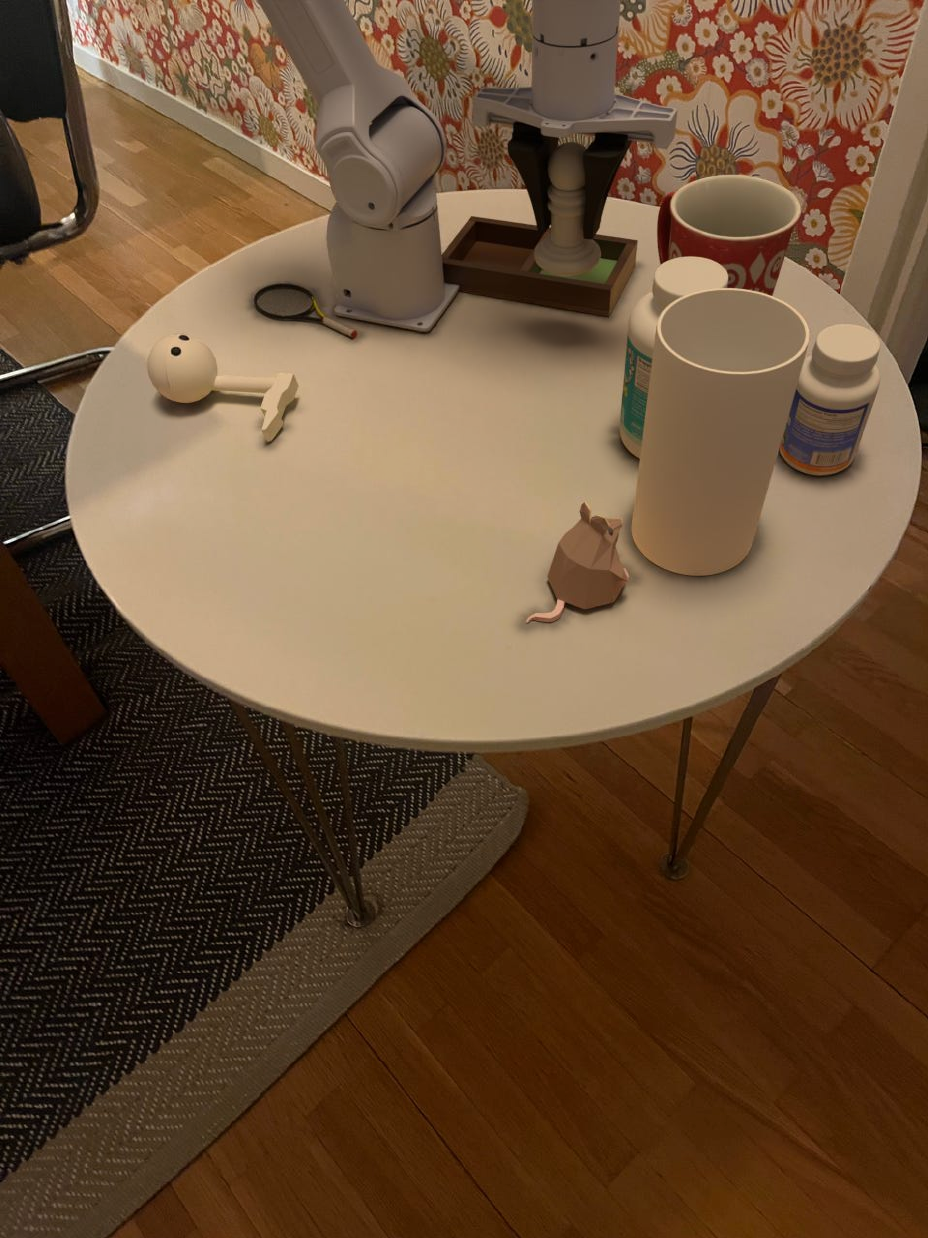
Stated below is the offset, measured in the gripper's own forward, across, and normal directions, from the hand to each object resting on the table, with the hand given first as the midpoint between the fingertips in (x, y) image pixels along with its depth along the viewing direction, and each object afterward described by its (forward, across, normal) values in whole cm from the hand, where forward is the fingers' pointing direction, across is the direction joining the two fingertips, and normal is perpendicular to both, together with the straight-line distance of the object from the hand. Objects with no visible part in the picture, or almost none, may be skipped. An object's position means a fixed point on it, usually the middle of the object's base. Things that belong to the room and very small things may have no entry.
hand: (568, 229), depth 69 cm
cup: (+10, +16, -20) cm, 27 cm away
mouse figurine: (+10, +10, -28) cm, 31 cm away
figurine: (+7, -29, -20) cm, 36 cm away
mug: (+10, +11, 0) cm, 15 cm away
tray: (+9, -5, +8) cm, 13 cm away
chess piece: (+3, 0, 0) cm, 3 cm away
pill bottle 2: (+9, +22, -9) cm, 26 cm away
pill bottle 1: (+10, +12, -10) cm, 18 cm away
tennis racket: (+9, -24, -7) cm, 27 cm away
